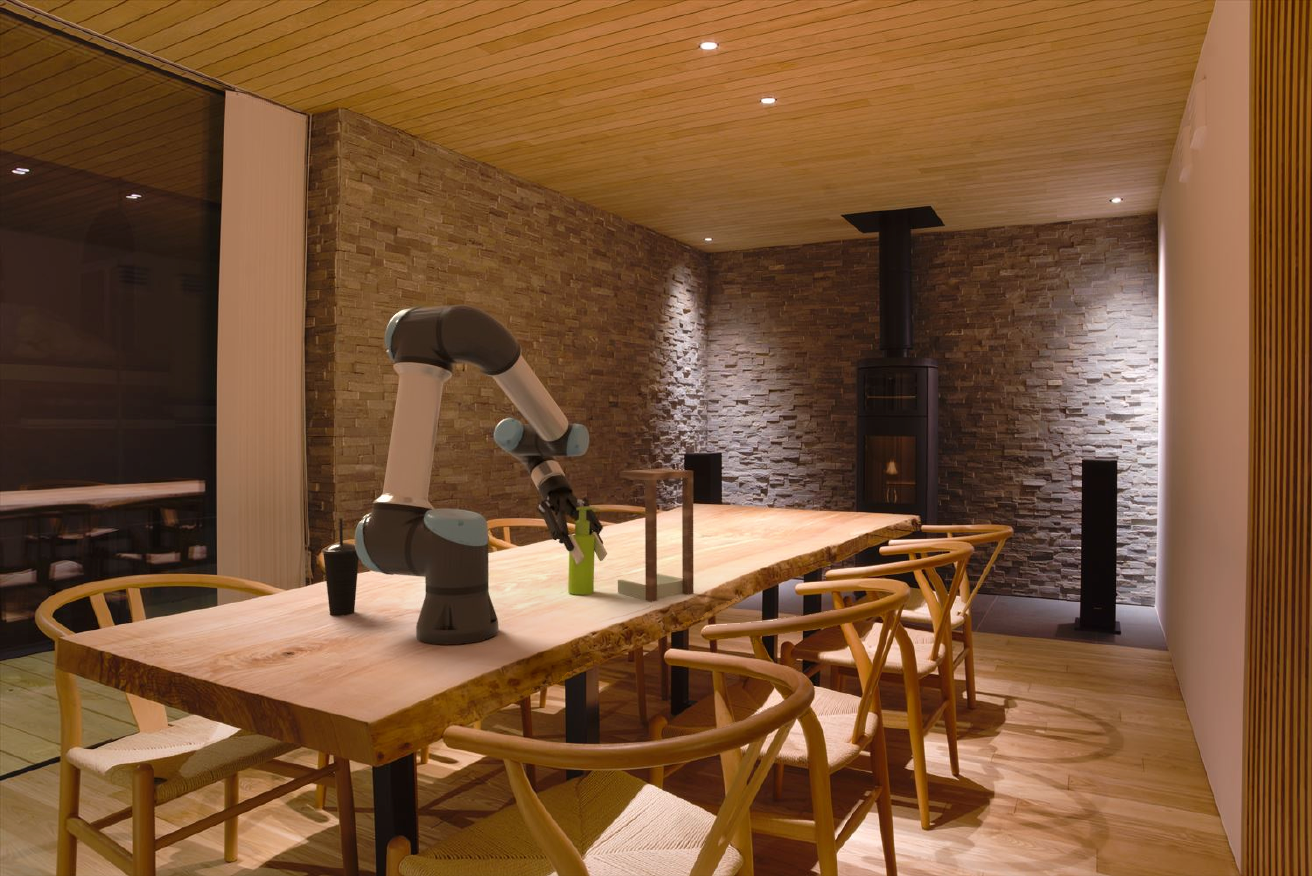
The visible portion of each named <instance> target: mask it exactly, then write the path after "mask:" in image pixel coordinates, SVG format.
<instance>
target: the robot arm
mask: <svg viewBox="0 0 1312 876" xmlns="http://www.w3.org/2000/svg"><path fill="white" fill-rule="evenodd" d="M384 346H385V348H386V349H387V350H386V354H387V356H388V357H389V359H390V360H391V361H392V362H393V367H392V368H393V369H394V370H393V371H395V373H397V375H398V376H399V380H398V387H397V392H396V393H397V394H396V399H395V400H396V401H395V409H394V413H393V414H394V415H393V422H392V429H391V435H390V441H389V442H390V443H389V446H388V447H389V448H388V457H387V463H386V469H385V476H384V482H383V490H382V494H381V495H380V496H379V497H378V498H376V499H375V500H374V501H373V502H372V506H371V507H372V508H371V509H372V510H371V512H369V513H367V514H365V515H364V516H363V517H362V518H361V521H359V522H358V523H357V526H356V528H355V530H354V531H355V533H354V545H355V549H356V552H357V555H358V557H359V560H361V563H362V565H363V566H364V567H366V568H367V569H368V570H370V571H372V572H376V573H381V574H383V575H387V576H388V575H391V576H393V575H399V576H410V577H411V576H412V577H419V578H420V577H422V578H423V577H424V579H425V581H424V582H425V595H424V596H425V597H424V599H423V603H422V606H421V610H420V612H419V616H418V619H417V622H416V626H415V627H416V628H415V630H416V632H415V634H416V637H415V638H416V639H417V640H418V641H421V642H423V643H428V644H433V645H434V644H435V645H461V644H460V643H465V644H470V643H472V644H473V643H477V641H478V642H481V641H485V639H486V640H488V638H489V639H491V637H492V638H494V637H495V636H497V634H499V619H498V616H497V614H496V610H495V607H494V605H493V602H492V598H491V595H490V593H489V591H490V589H489V574H490V573H489V542H490V536H489V529H488V521H487V519H486V518H485V517H484V516H483V515H482V514H481V513H478V512H475V511H470V510H466V509H458V508H455V509H454V508H435V507H433V505H432V504H431V503H430V502H429V500H428V499H429V492H430V491H429V490H430V484H431V483H430V482H431V475H432V468H433V460H434V455H435V454H434V452H435V446H436V438H437V431H438V424H439V419H440V412H441V411H440V410H441V409H440V408H441V403H442V402H441V401H442V394H443V387H444V384H445V383H446V382H447V381H449V379H451V378H452V377H453V371H454V365H455V364H470V365H472V366H475V367H477V368H478V369H479V370H480V372H481V373H483V374H484V375H486V376H488V377H492V378H493V380H494V381H495V383H496V384H497V385H498V386H499V387H500V388H501V390H502V391H503V392H504V394H505V396H507V397H508V399H509V400H510V401H511V402H512V404H513V405H514V406H515V408H516V409H517V410H518V411H519V412H520V414H521V415H522V416H523V417H524V419H525V420H526V422H527V423H522V422H521V421H520V420H518V419H516V418H514V417H507V418H504V419H502V420H500V421H499V422H498V423H497V425H495V428H494V430H493V441H494V442H495V443H496V445H497V446H498V447H500V448H501V450H502V451H504V452H506V453H508V454H509V455H510V456H511V457H513V458H515V459H516V460H518V462H520V463H522V464H523V465H524V466H525V468H526V470H527V471H528V474H529V475H530V478H531V479H532V481H533V483H534V485H535V487H536V489H537V490H538V493H539V495H540V497H541V499H542V501H540V503H539V506H538V507H537V511H538V512H539V513H540V514H541V516H542V518H543V520H544V522H545V525H546V527H547V529H548V532H549V533H550V536H551V539H552V540H553V541H557V540H558V543H559V544H561V545H562V544H563V545H564V547H565V549H566V551H567V552H569V551H570V552H571V554H572V556H573V558H574V560H575V562H576V564H580V563H581V561H582V560H583V558H584V555H583V553H582V551H581V549H580V548H579V546H578V544H577V542H576V540H575V538H574V536H573V535H574V534H569V528H568V521H567V517H566V516H568V517H569V518H571V520H574V522H575V521H577V520H579V510H576V508H577V507H586V506H589V507H591V506H590V503H589V499H588V498H586V497H584V498H583V499H580V498H577V496H576V495H575V494H574V492H573V487H572V485H571V484H570V482H569V480H568V478H567V477H566V474H565V473H564V471H563V469H562V467H561V466H560V463H559V462H558V460H557V458H556V457H567V458H570V457H580V456H584V455H585V454H586V453H587V450H588V449H589V445H590V434H589V430H588V429H587V427H586V425H584V424H582V423H581V424H580V423H579V424H578V423H571V421H569V419H568V418H567V416H566V415H565V414H564V412H563V411H562V410H561V408H560V407H559V406H558V404H557V403H556V401H555V400H554V398H553V397H552V396H551V395H550V394H551V393H549V392H548V390H547V389H546V388H545V386H544V385H543V382H541V380H540V379H539V378H538V376H537V375H536V374H535V372H534V371H533V370H532V367H531V366H530V365H529V363H527V361H526V359H525V358H524V357H523V355H522V346H521V344H520V343H519V341H518V339H516V336H515V335H513V334H512V332H511V331H510V330H509V329H508V328H507V327H506V326H505V325H504V324H503V323H501V322H500V321H499V320H498V319H496V317H494V316H492V315H491V314H489V313H487V312H486V311H484V310H483V309H480V308H478V307H476V306H473V305H470V304H469V305H468V304H453V305H439V306H416V307H415V306H414V307H411V308H404V309H402V310H400V311H399V312H397V313H395V315H393V317H392V318H391V319H390V320H389V322H388V324H387V326H386V329H385V333H384ZM586 520H588V521H590V531H589V535H592V536H595V548H594V554H595V555H596V557H597V559H598V560H599V562H603V561H604V560H605V558H606V556H607V555H608V552H607V549H606V548H605V547H604V541H603V539H602V538H601V535H600V533H601V532H602V530H603V529H604V527H603V525H602V522H601V521H600V520H599V519H598V517H597V516H596V514H595V512H594V510H586ZM493 636H494V637H493Z"/></svg>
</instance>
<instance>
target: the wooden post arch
mask: <svg viewBox="0 0 1312 876" xmlns="http://www.w3.org/2000/svg"><path fill="white" fill-rule="evenodd" d="M619 478H620V479H630V480H631V479H632V480H642V481H644V508H645V509H644V517H645V520H644V523H645V524H644V525H645V526H644V528H645V529H644V530H645V532H644V533H645V535H644V536H645V537H644V539H645V540H644V541H645V543H644V544H645V545H644V546H645V548H644V549H645V552H644V553H645V557H644V558H645V560H644V563H645V579H644V580H645V585H646V600H645V601H646V602H651V603H652V602H657V601H658V598H657V574H658V557H657V556H658V555H657V553H658V549H657V547H658V546H657V545H658V542H657V541H658V539H657V538H658V537H657V536H658V535H657V532H658V531H657V526H658V522H657V519H658V517H657V514H658V513H657V510H658V509H657V506H658V505H657V498H658V497H657V493H658V491H657V490H658V489H657V481H660V480H674V479H681V481H682V483H681V488H682V489H681V497H682V498H681V503H682V504H681V509H682V510H681V513H682V517H681V519H682V521H681V522H682V527H681V531H682V534H681V535H682V536H681V537H682V538H681V539H682V540H681V541H682V544H681V545H682V549H681V550H682V554H681V555H682V556H681V557H682V560H681V561H682V562H681V563H682V564H681V565H682V576H681V577H682V581H683V593H682V594H683V595H688V596H689V595H692V594H694V470H686V469H675V468H674V469H671V468H652V469H651V468H650V469H634V470H632V469H631V470H620V471H619Z"/></svg>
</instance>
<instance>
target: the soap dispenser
mask: <svg viewBox="0 0 1312 876" xmlns="http://www.w3.org/2000/svg"><path fill="white" fill-rule="evenodd" d="M589 506H590V505H589ZM589 506H586V507H577V508H576V510H579V520H577V521H575V520H574V534H572V535H573V536H574V538H575V540H576V542H577V544H578V546H579V548H580V549H581V551H582V553H583V555H584V558H583V560H582V561H581V563H580V564H576V562H575V560H574V558H573V556H572V554H571V552H570V551H568V584H567V585H568V589H567V592H568V593H569V594H572V595H577V596H578V595H580V596H581V595H583V596H584V595H591V594H594V591H595V589H594V588H595V586H594V585H595V583H594V582H595V551H594V548H595V536H592V535H589V531H590V521H588V520H586V510H593V511H596V512H599V511H600V510H601V508H599V507H595V506H590V507H589Z"/></svg>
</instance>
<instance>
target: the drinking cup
mask: <svg viewBox="0 0 1312 876" xmlns="http://www.w3.org/2000/svg"><path fill="white" fill-rule="evenodd" d="M343 521H344V518H342V517H339V519H338V522H339V523H338V524H339V526H338V527H339V528H338V529H339V542H337V543H332V544H329V545H328V546H327V547H325V548H322V549H321V553H322V555H323V562H324V571H325V581H326V591H327V592H326V593H327V599H328V601H327V602H328V607H329V615H330V616H334V617H336V616H337V617H341V616H342V615H344V616H349V615H352V614H353V615H354V613H355V609H356V608H355V605H356V595H357V581H358V572H359V571H358V570H359V561H360V559H359V557H358V555H357V552H356V549H355V544H353V543H349V542H344V530H343V529H344V523H343Z"/></svg>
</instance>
